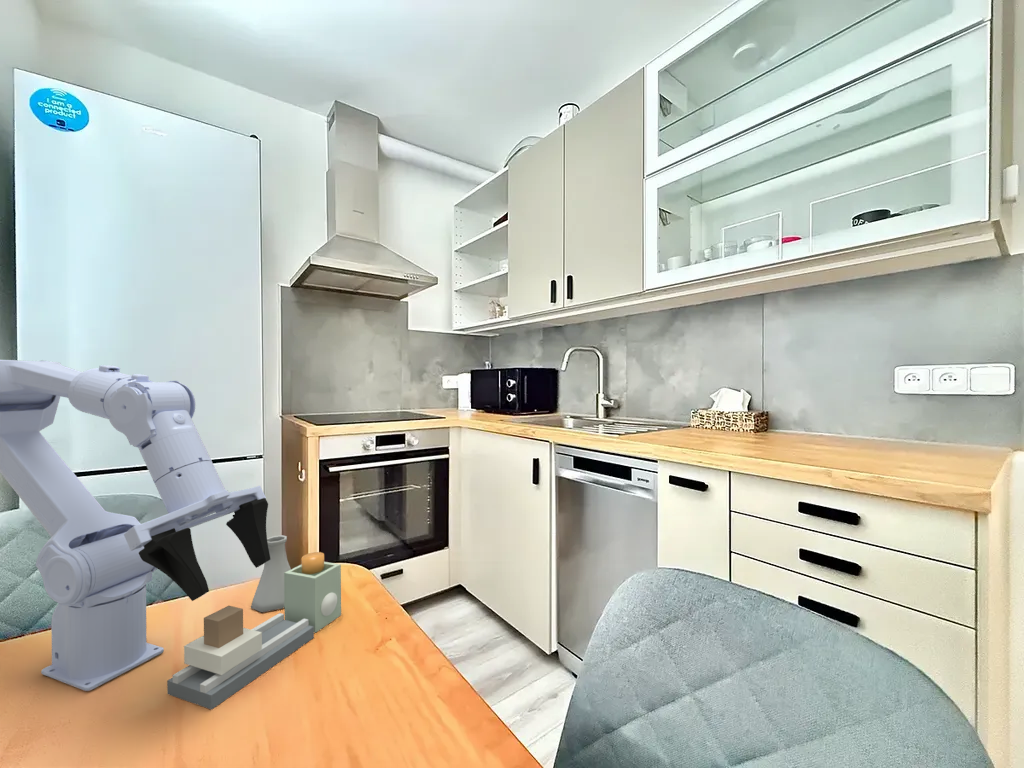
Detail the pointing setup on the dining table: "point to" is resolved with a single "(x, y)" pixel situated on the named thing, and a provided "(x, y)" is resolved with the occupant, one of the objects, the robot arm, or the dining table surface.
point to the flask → (272, 577)
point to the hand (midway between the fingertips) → (234, 578)
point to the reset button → (313, 563)
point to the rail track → (241, 664)
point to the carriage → (223, 642)
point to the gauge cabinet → (313, 595)
